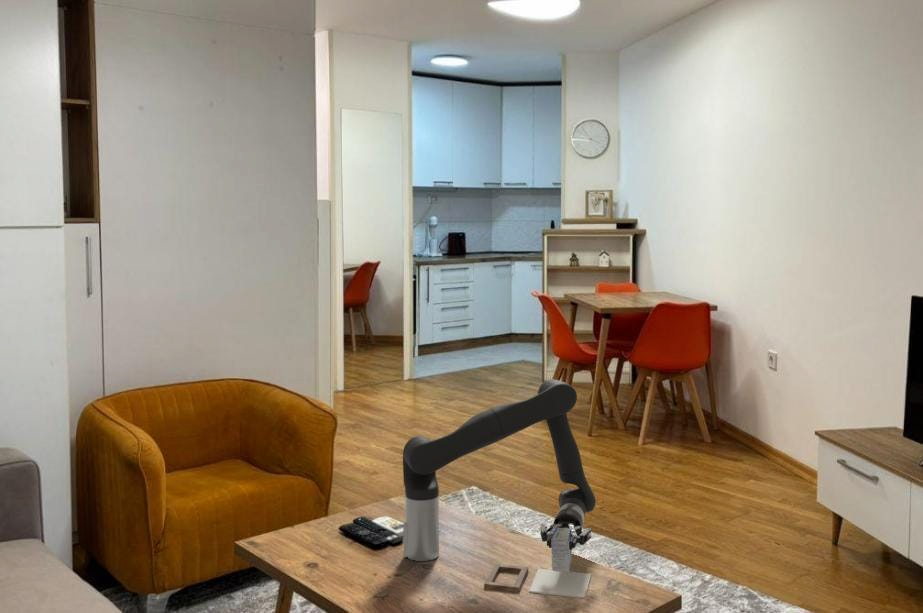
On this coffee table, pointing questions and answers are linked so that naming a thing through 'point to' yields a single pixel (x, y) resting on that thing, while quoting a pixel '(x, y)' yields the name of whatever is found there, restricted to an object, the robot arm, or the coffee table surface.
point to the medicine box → (561, 550)
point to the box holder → (503, 586)
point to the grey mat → (560, 583)
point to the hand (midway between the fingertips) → (560, 545)
